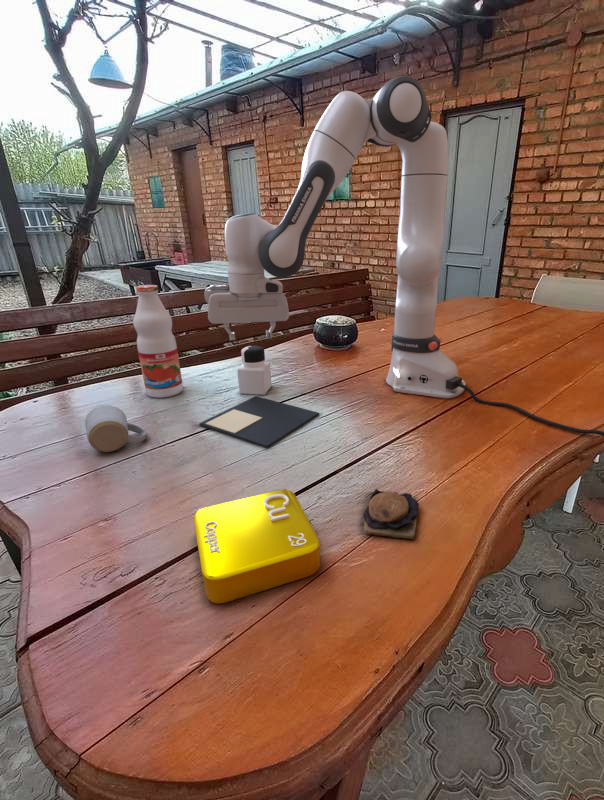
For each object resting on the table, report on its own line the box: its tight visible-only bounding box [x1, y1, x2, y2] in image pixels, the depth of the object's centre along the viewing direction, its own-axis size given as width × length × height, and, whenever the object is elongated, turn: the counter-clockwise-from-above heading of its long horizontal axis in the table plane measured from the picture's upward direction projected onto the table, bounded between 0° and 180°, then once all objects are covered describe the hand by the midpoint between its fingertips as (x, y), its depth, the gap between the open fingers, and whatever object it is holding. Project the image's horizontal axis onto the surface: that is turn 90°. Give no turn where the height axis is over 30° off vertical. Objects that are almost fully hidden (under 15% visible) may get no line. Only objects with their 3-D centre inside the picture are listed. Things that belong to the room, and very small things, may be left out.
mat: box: [198, 395, 320, 449], centre depth 99 cm, size 20×19×1 cm
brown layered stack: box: [362, 488, 419, 540], centre depth 67 cm, size 11×8×4 cm
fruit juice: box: [132, 284, 184, 399], centre depth 110 cm, size 9×9×28 cm
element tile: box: [193, 488, 321, 605], centre depth 59 cm, size 15×15×5 cm
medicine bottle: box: [236, 345, 273, 396], centre depth 114 cm, size 7×7×12 cm
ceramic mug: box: [84, 404, 147, 453], centre depth 87 cm, size 11×8×8 cm
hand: (251, 338), depth 111 cm, fingers open, 8 cm apart
